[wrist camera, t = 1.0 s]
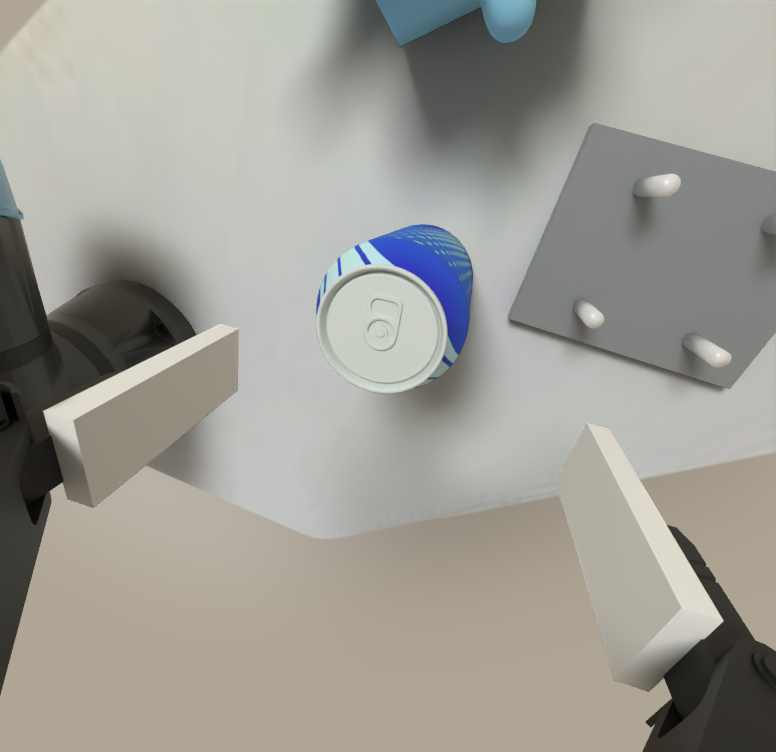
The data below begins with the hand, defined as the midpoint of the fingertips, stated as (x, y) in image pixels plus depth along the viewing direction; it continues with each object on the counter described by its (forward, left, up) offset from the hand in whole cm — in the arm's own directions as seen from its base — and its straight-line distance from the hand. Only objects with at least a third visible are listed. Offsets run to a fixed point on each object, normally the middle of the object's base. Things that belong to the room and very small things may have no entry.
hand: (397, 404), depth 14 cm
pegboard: (+15, +7, -21) cm, 26 cm away
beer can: (-2, +1, -21) cm, 21 cm away
